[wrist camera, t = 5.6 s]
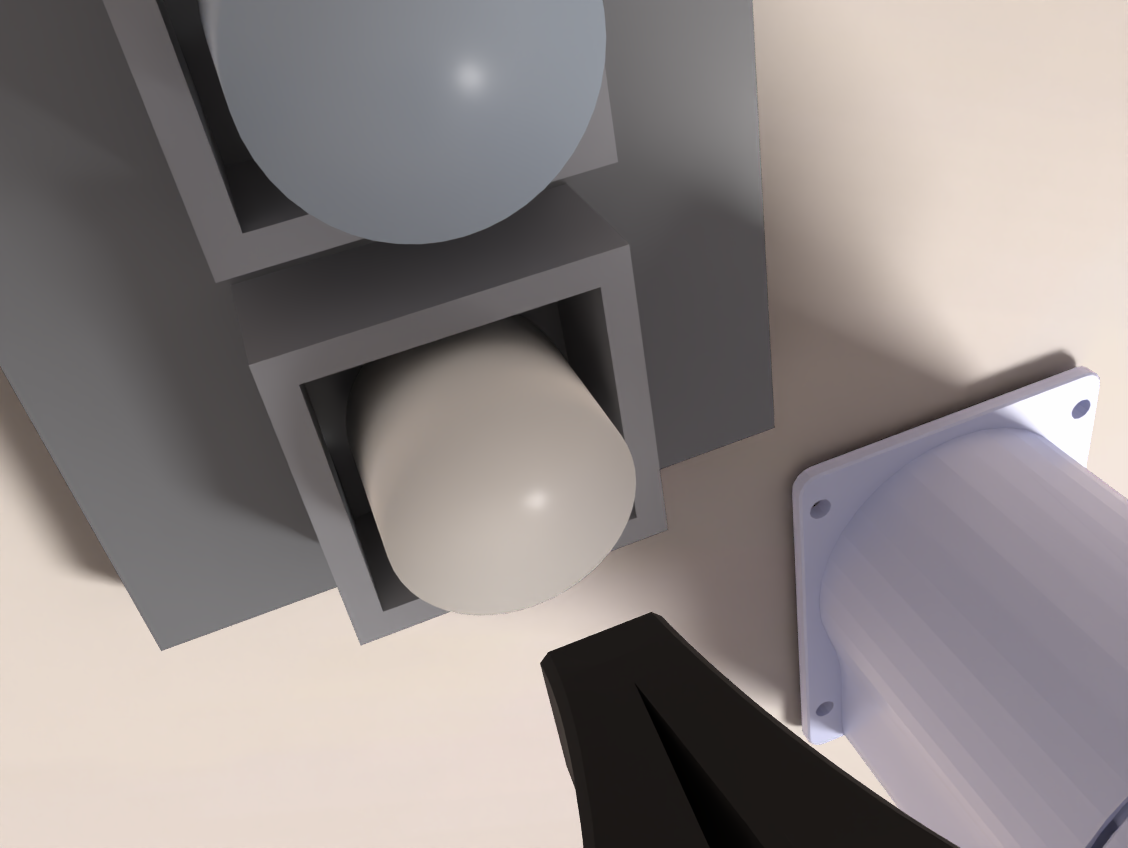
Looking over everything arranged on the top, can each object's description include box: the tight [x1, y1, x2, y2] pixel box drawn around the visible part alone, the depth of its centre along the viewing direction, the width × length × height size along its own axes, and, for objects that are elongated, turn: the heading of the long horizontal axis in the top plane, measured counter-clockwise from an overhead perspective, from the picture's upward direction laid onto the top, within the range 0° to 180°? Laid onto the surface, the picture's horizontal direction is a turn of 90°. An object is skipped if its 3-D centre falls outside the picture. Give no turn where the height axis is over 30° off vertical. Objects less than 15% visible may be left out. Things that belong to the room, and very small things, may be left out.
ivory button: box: [346, 314, 636, 615], centre depth 16 cm, size 4×4×3 cm
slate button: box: [197, 0, 606, 244], centre depth 11 cm, size 4×4×3 cm
